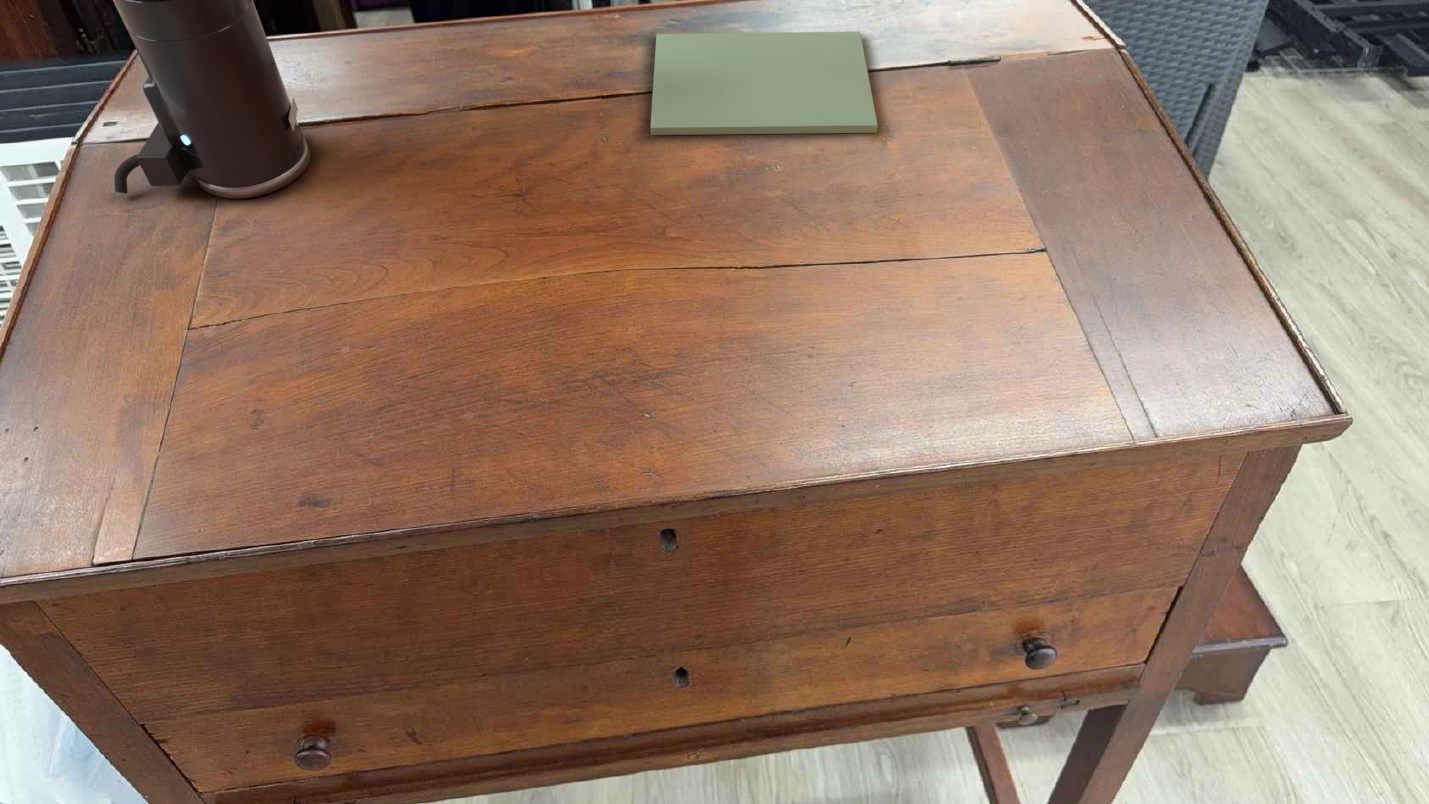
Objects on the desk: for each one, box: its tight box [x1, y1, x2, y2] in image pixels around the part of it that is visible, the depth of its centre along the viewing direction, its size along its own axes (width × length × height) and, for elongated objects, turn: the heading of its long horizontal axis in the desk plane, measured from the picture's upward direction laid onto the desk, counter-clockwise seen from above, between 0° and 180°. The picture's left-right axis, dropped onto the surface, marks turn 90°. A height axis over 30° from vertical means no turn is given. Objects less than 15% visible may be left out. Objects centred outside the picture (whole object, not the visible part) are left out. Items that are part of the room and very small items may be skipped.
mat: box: [650, 31, 879, 136], centre depth 95 cm, size 20×16×1 cm
